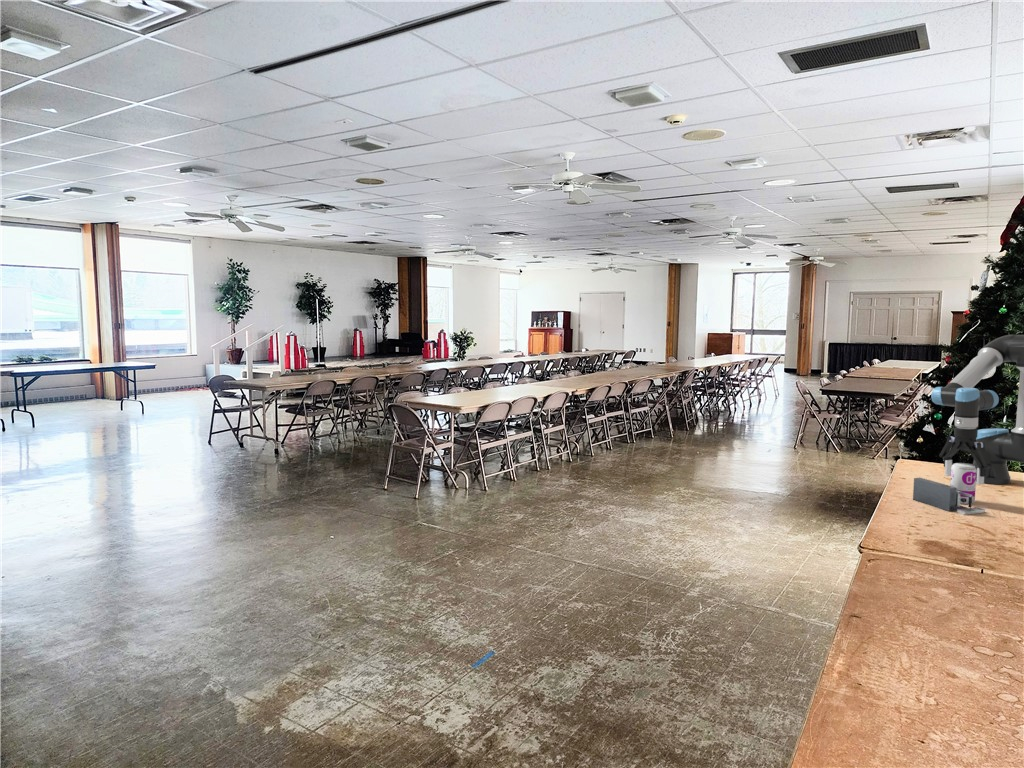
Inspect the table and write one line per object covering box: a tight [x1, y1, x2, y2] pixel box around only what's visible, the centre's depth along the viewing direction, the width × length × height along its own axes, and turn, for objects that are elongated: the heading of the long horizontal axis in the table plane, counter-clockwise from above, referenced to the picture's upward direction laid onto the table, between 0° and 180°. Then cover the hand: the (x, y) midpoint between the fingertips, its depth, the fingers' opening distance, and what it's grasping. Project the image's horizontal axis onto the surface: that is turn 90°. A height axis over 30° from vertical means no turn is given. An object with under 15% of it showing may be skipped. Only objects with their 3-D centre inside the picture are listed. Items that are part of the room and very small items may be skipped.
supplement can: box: [949, 462, 977, 505], centre depth 254 cm, size 8×8×15 cm
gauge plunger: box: [956, 490, 973, 508], centre depth 249 cm, size 1×19×6 cm, turn 15°
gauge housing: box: [912, 477, 986, 516], centre depth 249 cm, size 12×21×9 cm, turn 15°
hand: (963, 480), depth 254 cm, fingers open, 13 cm apart
